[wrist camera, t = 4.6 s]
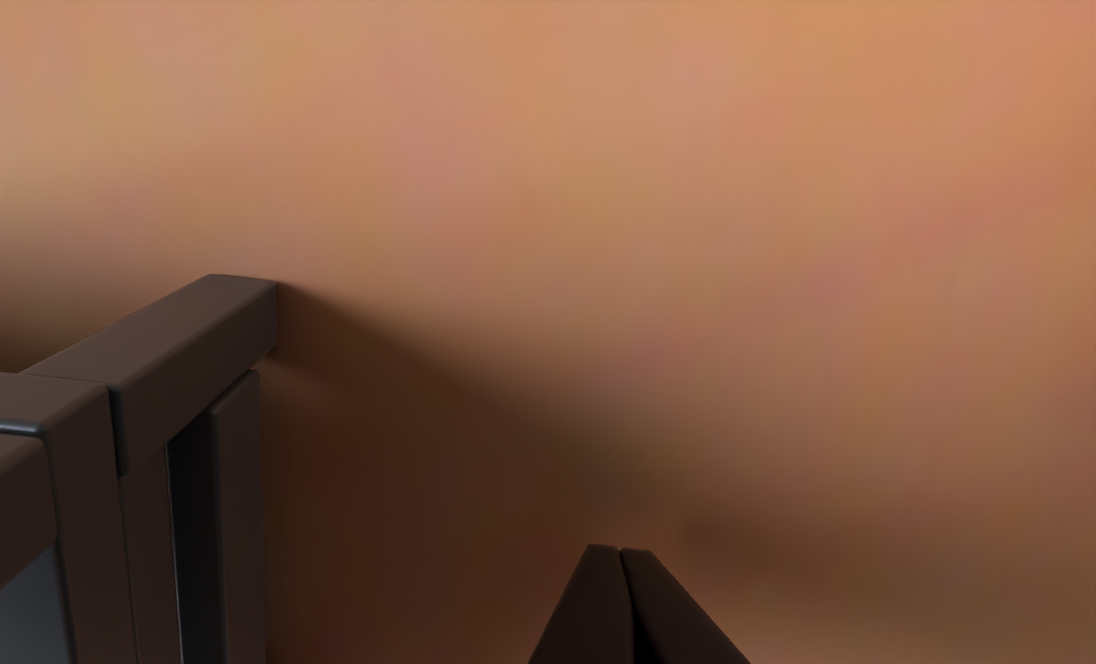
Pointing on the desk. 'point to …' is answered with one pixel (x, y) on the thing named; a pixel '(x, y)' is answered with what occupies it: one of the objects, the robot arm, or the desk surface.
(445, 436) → the desk surface
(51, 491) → the chair
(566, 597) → the robot arm
